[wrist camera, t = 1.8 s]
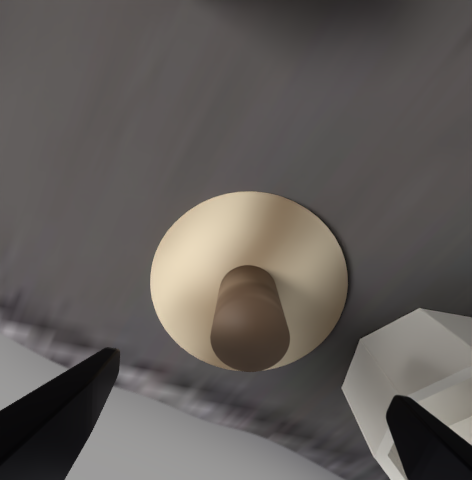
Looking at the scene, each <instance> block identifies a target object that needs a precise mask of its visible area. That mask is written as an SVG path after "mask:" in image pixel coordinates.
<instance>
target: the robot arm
mask: <svg viewBox="0 0 472 480" xmlns="http://www.w3.org/2000/svg"><path fill="white" fill-rule="evenodd" d="M119 364H120V350H119V349H116V348H109V347H107V348H104V349H102V350H101V351H99V352H97V353H96V354H94V355H92V356H91V357H89V358H87V359H86V360H84V361H82V362H81V363H79V364H77V365H76V366H74V367H72V368H71V369H69V370H67V371H66V372H64V373H62V374H61V375H59V376H57V377H56V378H54V379H52V380H51V381H49V382H47V383H46V384H44V385H42V386H41V387H39V388H37V389H36V390H34V391H32V392H31V393H29V394H27V395H26V396H24V397H22V398H21V399H19V400H17V401H16V402H14V403H12V404H11V405H9V406H7V407H6V408H4V409H2V410H1V411H0V480H65V478H66V476H67V474H68V473H69V471H70V469H71V468H72V465H73V464H74V462H75V461H76V459H77V457H78V455H79V454H80V452H81V450H82V448H83V447H84V445H85V443H86V441H87V440H88V438H89V436H90V434H91V432H92V430H93V428H94V426H95V424H96V422H97V420H98V418H99V416H100V413H101V411H102V409H103V407H104V405H105V403H106V400H107V398H108V396H109V394H110V392H111V389H112V387H113V385H114V383H115V381H116V379H117V376H118V373H119ZM386 421H387V424H388V427H389V430H390V433H391V435H392V438H393V441H394V444H395V446H396V449H397V452H398V455H399V458H400V460H401V463H402V466H403V469H404V471H405V474H406V477H407V479H408V480H472V445H471V444H469V443H468V442H467V441H466V440H464V439H463V438H462V437H461V436H459V435H458V434H457V433H455V432H454V431H453V430H452V429H450V428H449V427H448V426H446V425H445V424H444V423H443V422H441V421H440V420H439V419H437V418H436V417H435V416H434V415H432V414H431V413H430V412H428V411H427V410H426V409H425V408H423V407H422V406H421V405H419V404H418V403H417V402H416V401H414V400H413V399H412V398H410V397H408V396H403V395H395V396H394V397H393V399H392V401H391V403H390V405H389V407H388V409H387V412H386Z"/></svg>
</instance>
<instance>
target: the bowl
mask: <svg viewBox="0 0 472 480" xmlns="http://www.w3.org/2000/svg"><path fill="white" fill-rule="evenodd" d="M359 340H360V341H359V343H358V346H357V348H356V351H355V354H354V356H353V359H352V362H351V364H350V367H349V370H348V372H347V375H346V378H345V380H344V383H343V385H342V387H341V388H342V390H343V393H344V395H345V397H346V399H347V401H348V403H349V406H350V408H351V410H352V412H353V414H354V416H355V418H356V421H357V423H358V425H359V427H360V429H361V431H362V433H363V436H364V438H365V440H366V442H367V444H368V446H369V448H370V451H371V453H372V455H373V457H374V458H375V459H376V460H377V462H378V463H379V464H380V466H381V467H382V468H383V470H384V471H385V472H386V474H387V475H388V476H389V478H390V479H391V480H408V479H407V477H406V474H405V471H404V469H403V466H402V463H401V460H400V458H399V455H398V452H397V449H396V446H395V444H394V441H393V438H392V435H391V433H390V430H389V427H388V424H387V421H386V412H387V409H388V407H389V405H390V403H391V401H392V399H393V397H394V396H395V395H403V396H408V397H410V398H412V399H413V400H414V401H416V402H417V403H418V404H419V405H421V406H422V407H423V408H425V409H426V410H427V411H428V412H430V413H431V414H432V415H434V416H435V417H436V418H437V419H439V420H440V421H441V422H443V423H444V424H445V425H446V426H448V427H449V428H450V429H452V430H453V431H454V432H455V433H457V434H458V435H459V436H461V437H462V438H463V439H464V440H466V441H467V442H468V443H469V444H471V445H472V317H468V316H462V315H456V314H450V313H445V312H439V311H433V310H427V309H422V308H418V309H417V310H415V311H413V312H411V313H409V314H407V315H405V316H403V317H401V318H399V319H397V320H396V321H394V322H392V323H390V324H388V325H386V326H384V327H382V328H380V329H378V330H376V331H375V332H373V333H371V334H369V335H367V336H365V337H363V338H360V339H359Z"/></svg>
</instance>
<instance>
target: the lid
mask: <svg viewBox="0 0 472 480" xmlns="http://www.w3.org/2000/svg"><path fill="white" fill-rule="evenodd" d="M150 287H151V295H152V300H153V304H154V307H155V310H156V313H157V315H158V317H159V320H160V321H161V323H162V325H163V326H164V328H165V330H166V331H167V332H168V333H169V335H170V336H171V337H172V338H173V339H174V340H175V341H176V342H177V343H178V344H179V345H180V346H181V347H182V348H183V349H185V350H186V351H187V352H188V353H190V354H191V355H193V356H195V357H196V358H198V359H200V360H202V361H204V362H206V363H209V364H211V365H214V366H217V367H220V368H224V369H229V370H236V371H244V372H256V371H262V370H269V369H274V368H278V367H281V366H284V365H287V364H290V363H292V362H294V361H296V360H298V359H300V358H302V357H303V356H305V355H307V354H308V353H310V352H311V351H312V350H314V349H315V348H316V347H317V346H319V345H320V344H321V343H322V342H323V341H324V340H325V339H326V337H327V336H328V335H329V334H330V332H331V331H332V330H333V328H334V327H335V325H336V323H337V322H338V320H339V318H340V315H341V313H342V311H343V308H344V305H345V301H346V297H347V288H348V274H347V268H346V262H345V259H344V256H343V253H342V250H341V248H340V246H339V244H338V242H337V240H336V238H335V237H334V235H333V234H332V233H331V231H330V230H329V228H328V227H327V226H326V225H325V224H324V223H323V222H322V221H321V220H320V219H319V218H318V217H317V216H315V215H314V214H313V213H312V212H310V211H309V210H308V209H306V208H304V207H303V206H301V205H299V204H297V203H296V202H294V201H291V200H289V199H286V198H284V197H281V196H278V195H274V194H270V193H264V192H255V191H247V192H234V193H228V194H224V195H220V196H217V197H214V198H211V199H209V200H207V201H205V202H202V203H200V204H199V205H197V206H195V207H194V208H192V209H191V210H189V211H188V212H187V213H185V214H184V215H183V216H182V217H181V218H179V219H178V220H177V221H176V222H175V223H174V224H173V226H172V227H171V228H170V229H169V230H168V231H167V233H166V234H165V236H164V237H163V239H162V240H161V242H160V244H159V247H158V249H157V251H156V253H155V257H154V260H153V263H152V269H151V281H150Z"/></svg>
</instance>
